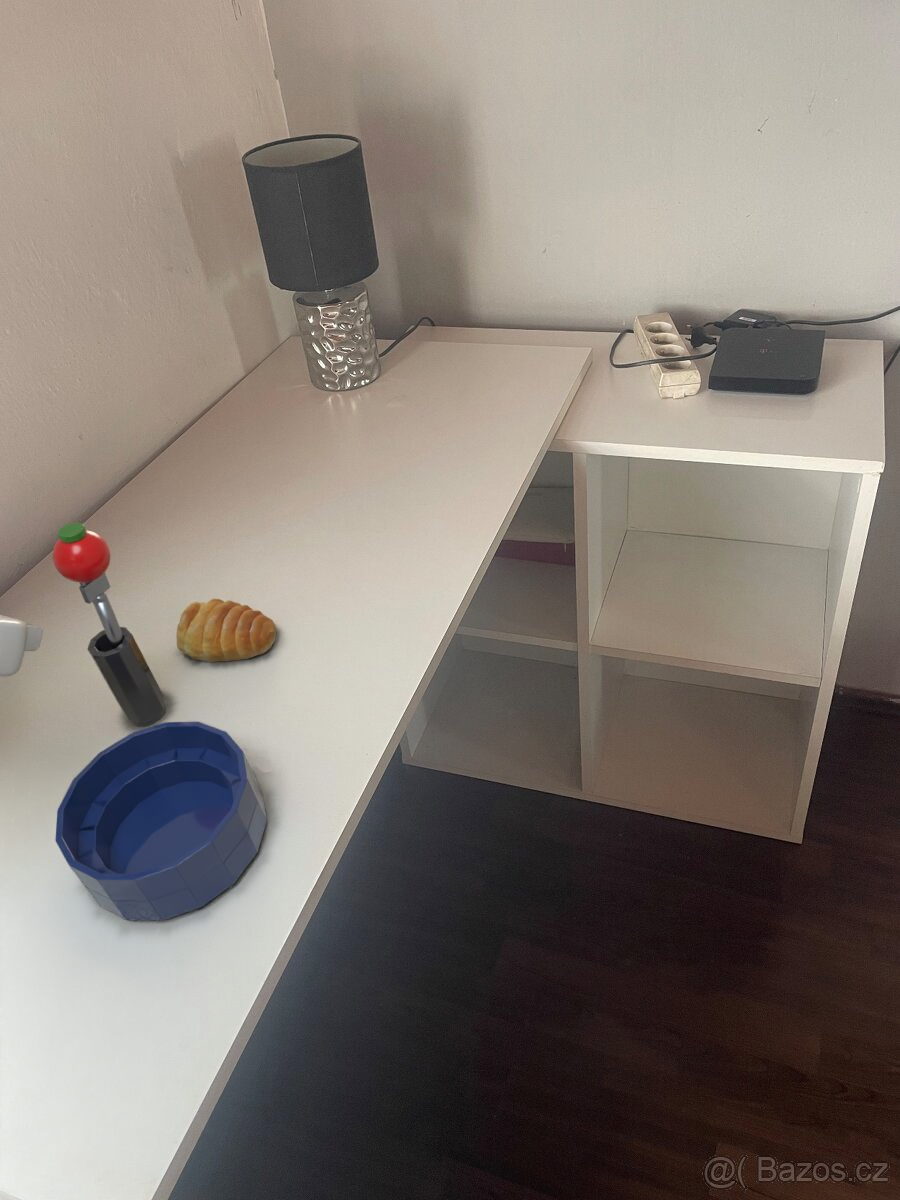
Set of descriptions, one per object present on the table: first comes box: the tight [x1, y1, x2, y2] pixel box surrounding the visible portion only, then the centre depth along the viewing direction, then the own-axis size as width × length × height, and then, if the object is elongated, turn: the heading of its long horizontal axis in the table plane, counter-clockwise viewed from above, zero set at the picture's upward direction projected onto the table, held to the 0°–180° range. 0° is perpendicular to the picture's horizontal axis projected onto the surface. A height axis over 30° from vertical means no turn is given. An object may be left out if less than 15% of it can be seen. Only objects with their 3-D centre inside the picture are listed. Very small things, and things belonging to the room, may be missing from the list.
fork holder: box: [87, 626, 168, 728], centre depth 76 cm, size 4×4×9 cm
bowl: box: [55, 721, 268, 921], centre depth 66 cm, size 14×14×6 cm
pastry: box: [176, 598, 277, 663], centre depth 83 cm, size 9×7×4 cm
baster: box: [52, 522, 124, 649], centre depth 72 cm, size 4×4×19 cm
